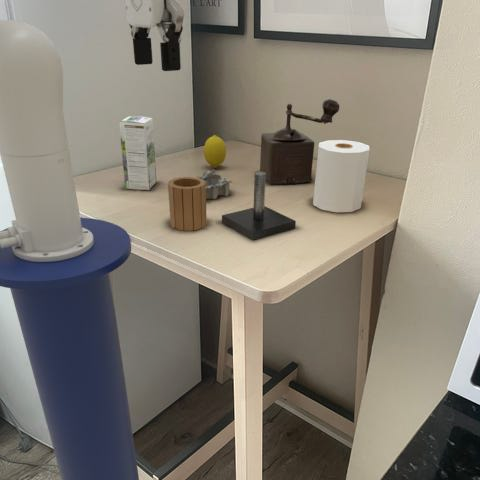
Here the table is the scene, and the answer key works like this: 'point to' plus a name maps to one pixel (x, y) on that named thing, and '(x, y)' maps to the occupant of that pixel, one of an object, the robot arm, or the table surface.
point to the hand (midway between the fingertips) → (157, 67)
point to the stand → (258, 215)
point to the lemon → (214, 151)
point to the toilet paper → (340, 175)
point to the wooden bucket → (187, 203)
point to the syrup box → (138, 152)
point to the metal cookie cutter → (215, 184)
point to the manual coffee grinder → (291, 149)
